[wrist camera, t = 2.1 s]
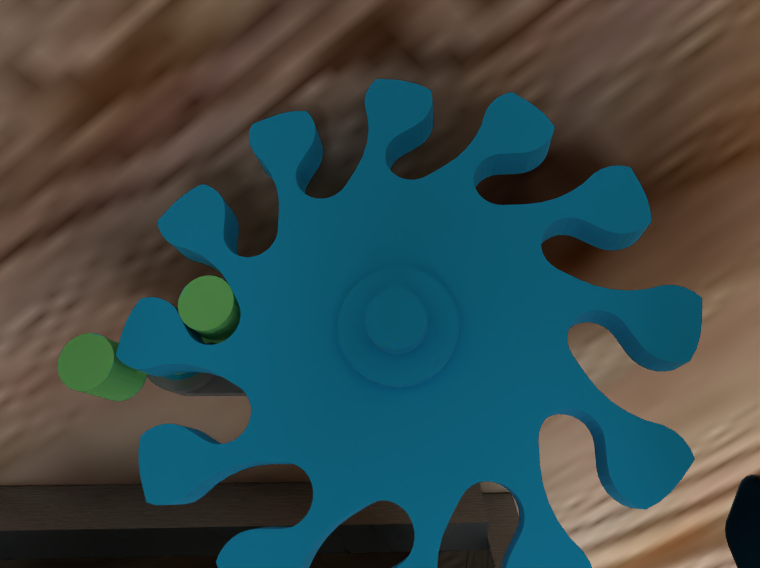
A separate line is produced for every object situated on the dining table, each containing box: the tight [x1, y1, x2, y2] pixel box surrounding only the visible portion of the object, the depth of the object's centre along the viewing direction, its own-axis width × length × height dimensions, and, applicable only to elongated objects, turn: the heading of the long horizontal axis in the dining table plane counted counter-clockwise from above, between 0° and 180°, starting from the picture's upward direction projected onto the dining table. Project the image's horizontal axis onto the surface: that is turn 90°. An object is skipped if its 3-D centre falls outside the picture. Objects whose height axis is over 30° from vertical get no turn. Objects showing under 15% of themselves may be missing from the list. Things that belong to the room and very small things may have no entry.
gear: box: [58, 79, 702, 568], centre depth 13 cm, size 11×6×10 cm
